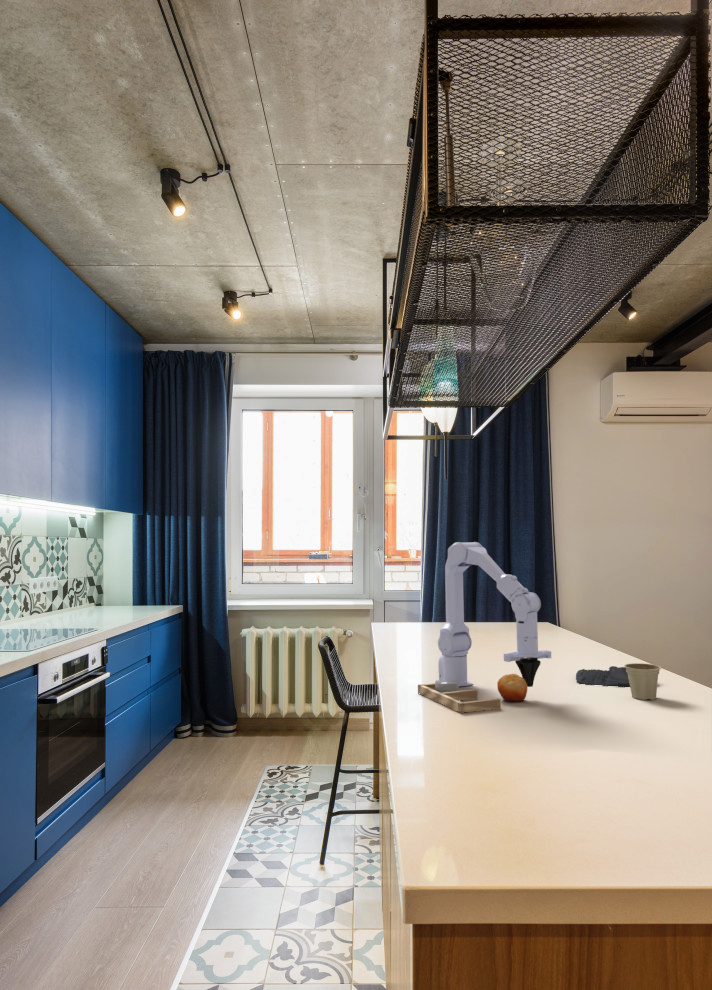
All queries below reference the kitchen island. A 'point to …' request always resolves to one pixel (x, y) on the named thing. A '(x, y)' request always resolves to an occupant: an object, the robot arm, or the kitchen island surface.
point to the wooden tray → (453, 699)
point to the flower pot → (643, 680)
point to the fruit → (512, 687)
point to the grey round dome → (446, 686)
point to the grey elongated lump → (604, 677)
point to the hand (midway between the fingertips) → (528, 686)
